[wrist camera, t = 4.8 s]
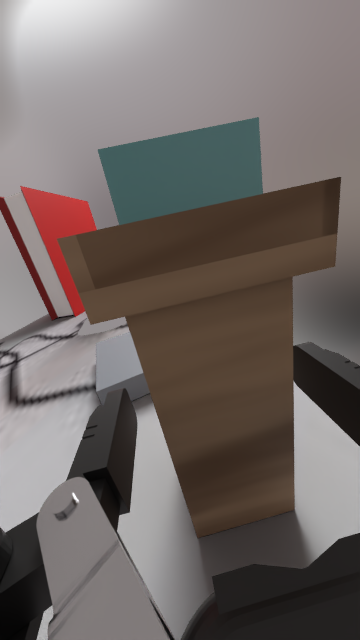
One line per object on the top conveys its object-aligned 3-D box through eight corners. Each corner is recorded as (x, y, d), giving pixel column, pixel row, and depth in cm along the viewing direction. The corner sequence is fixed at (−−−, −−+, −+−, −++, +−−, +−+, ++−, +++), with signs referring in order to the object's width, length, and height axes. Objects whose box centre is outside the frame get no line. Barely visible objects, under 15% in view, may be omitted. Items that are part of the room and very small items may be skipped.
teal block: (265, 244, 6) (258, 117, 5) (133, 275, 6) (97, 149, 5) (222, 245, 10) (213, 172, 9) (141, 264, 10) (121, 191, 9)
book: (75, 316, 57) (20, 186, 46) (52, 320, 59) (-7, 195, 48) (118, 291, 82) (89, 202, 70) (101, 294, 84) (70, 207, 72)
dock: (105, 412, 19) (96, 391, 18) (101, 358, 30) (95, 343, 29) (229, 358, 23) (226, 339, 22) (187, 327, 34) (184, 313, 33)
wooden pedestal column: (318, 523, 10) (340, 176, 5) (185, 562, 9) (56, 238, 4) (254, 417, 16) (234, 216, 11) (173, 439, 15) (112, 243, 10)
